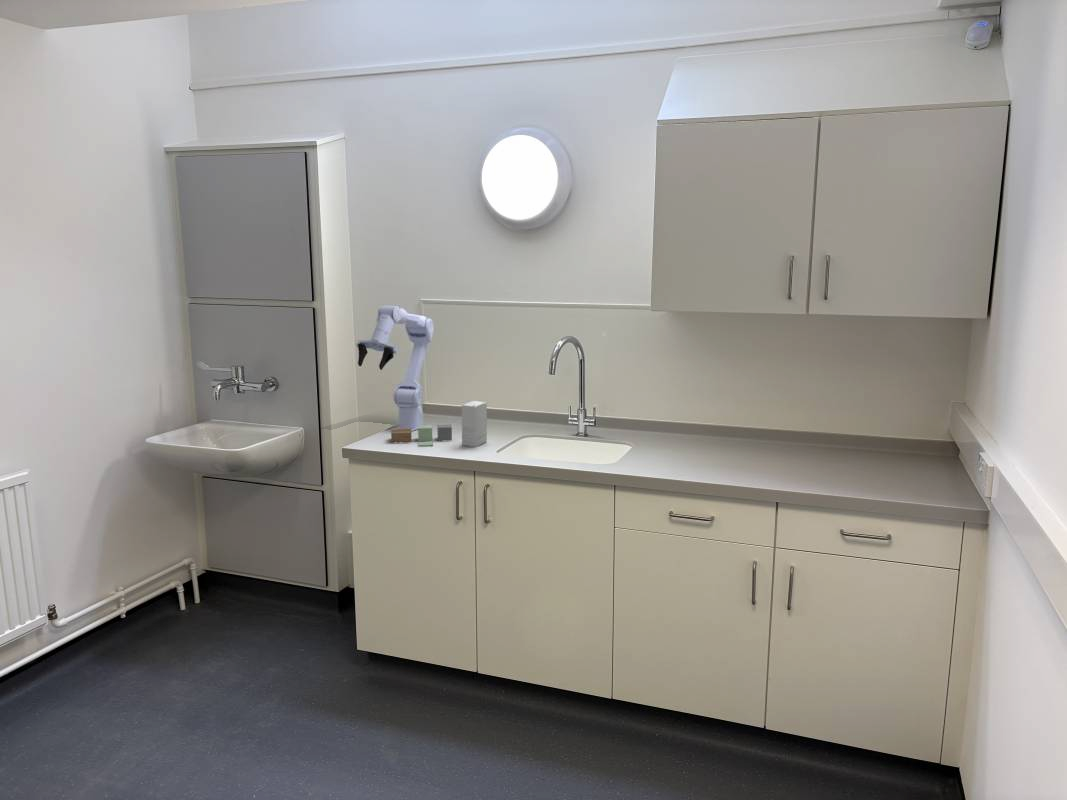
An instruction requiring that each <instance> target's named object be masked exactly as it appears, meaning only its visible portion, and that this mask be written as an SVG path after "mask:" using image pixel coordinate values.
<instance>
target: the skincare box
mask: <svg viewBox="0 0 1067 800" xmlns="http://www.w3.org/2000/svg"><path fill="white" fill-rule="evenodd" d="M487 410H488V409H487V402H486V401H485V402H484V401H479V400H472V401H469V402H467V403H464V404H461V445H462V446H466V447H472V448H476V447H479V446H480V445H482V444H485V443H487V440H488V437H487V436H488V434H487V433H488V430H487V427H488V424H487V421H488V420H487V417H488V414H487V412H488V411H487Z"/></svg>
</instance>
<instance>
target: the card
mask: <svg viewBox="0 0 1067 800" xmlns="http://www.w3.org/2000/svg"><path fill="white" fill-rule="evenodd" d="M419 446H420V447H433V446H434V441H433V440H432V441H426V442H418V447H419Z"/></svg>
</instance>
